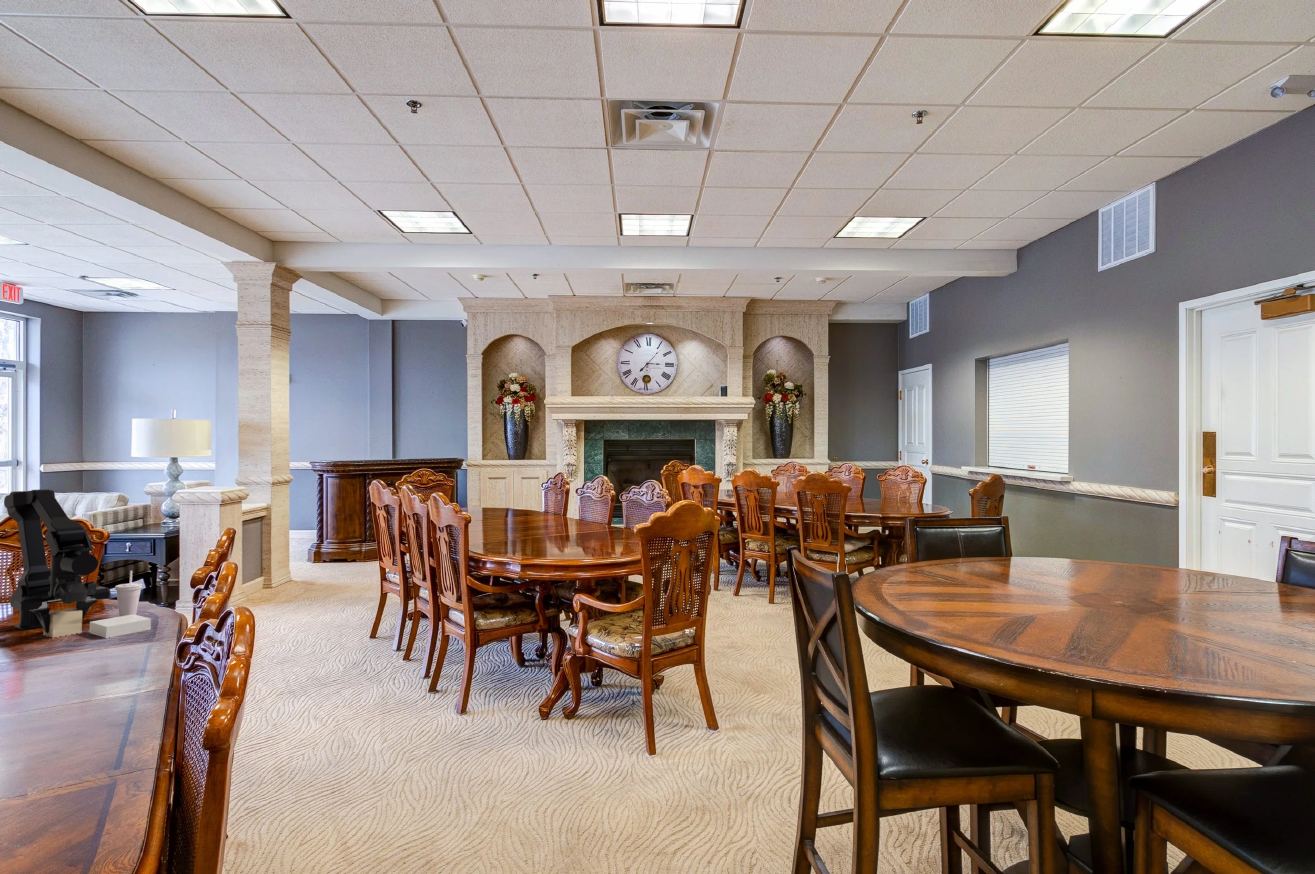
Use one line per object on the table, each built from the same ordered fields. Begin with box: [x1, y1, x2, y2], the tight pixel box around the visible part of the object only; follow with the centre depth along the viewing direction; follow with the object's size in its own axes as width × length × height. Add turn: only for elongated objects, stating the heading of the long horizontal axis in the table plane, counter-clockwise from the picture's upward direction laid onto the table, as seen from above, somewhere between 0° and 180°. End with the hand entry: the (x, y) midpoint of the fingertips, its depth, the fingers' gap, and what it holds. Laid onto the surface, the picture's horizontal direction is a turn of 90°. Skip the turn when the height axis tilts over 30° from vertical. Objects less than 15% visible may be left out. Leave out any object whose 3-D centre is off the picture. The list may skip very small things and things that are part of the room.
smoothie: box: [114, 570, 143, 617], centre depth 190 cm, size 6×6×14 cm
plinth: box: [89, 614, 152, 639], centre depth 175 cm, size 10×10×3 cm
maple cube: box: [42, 607, 83, 639], centre depth 172 cm, size 6×6×6 cm
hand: (62, 629), depth 172 cm, fingers closed on maple cube, 6 cm apart
